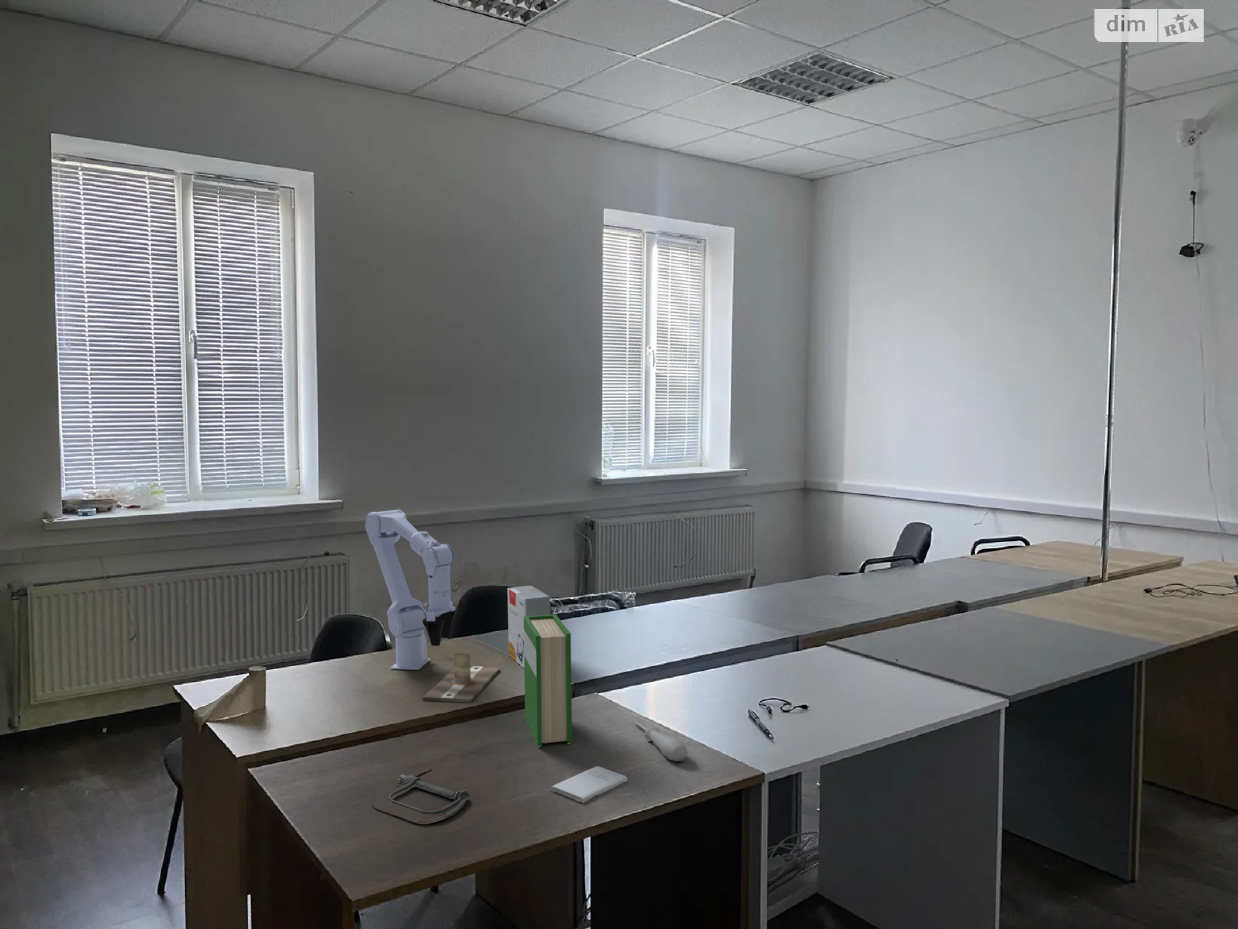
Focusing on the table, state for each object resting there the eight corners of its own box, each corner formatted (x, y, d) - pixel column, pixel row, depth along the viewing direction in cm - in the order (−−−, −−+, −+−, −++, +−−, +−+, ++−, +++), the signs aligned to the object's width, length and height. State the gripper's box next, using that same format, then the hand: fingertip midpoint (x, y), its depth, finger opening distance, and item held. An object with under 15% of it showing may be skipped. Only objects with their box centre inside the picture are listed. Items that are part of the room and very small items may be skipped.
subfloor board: (457, 668, 245) (457, 665, 245) (499, 670, 244) (499, 666, 243) (422, 700, 220) (422, 696, 220) (470, 702, 218) (469, 698, 218)
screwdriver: (641, 730, 204) (644, 712, 204) (690, 766, 180) (694, 745, 181) (621, 729, 202) (625, 710, 202) (669, 765, 179) (673, 743, 179)
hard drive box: (507, 656, 257) (506, 587, 256) (533, 653, 260) (532, 585, 259) (525, 671, 243) (524, 598, 241) (552, 667, 246) (551, 595, 245)
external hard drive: (551, 794, 169) (596, 772, 178) (582, 806, 163) (627, 784, 172) (551, 785, 168) (596, 764, 178) (582, 798, 163) (627, 776, 172)
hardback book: (572, 744, 191) (570, 633, 189) (537, 748, 189) (535, 636, 188) (557, 716, 208) (555, 614, 206) (525, 719, 206) (523, 616, 205)
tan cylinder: (457, 678, 234) (456, 651, 233) (472, 678, 233) (471, 652, 233) (453, 683, 230) (452, 656, 229) (468, 683, 229) (467, 656, 229)
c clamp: (354, 802, 166) (353, 787, 166) (429, 771, 179) (429, 758, 179) (422, 835, 153) (422, 819, 153) (498, 800, 166) (498, 786, 166)
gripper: (444, 597, 229) (445, 649, 230) (462, 585, 244) (463, 634, 245) (418, 596, 230) (419, 648, 231) (437, 585, 245) (439, 634, 246)
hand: (440, 641), depth 238 cm, fingers open, 7 cm apart
